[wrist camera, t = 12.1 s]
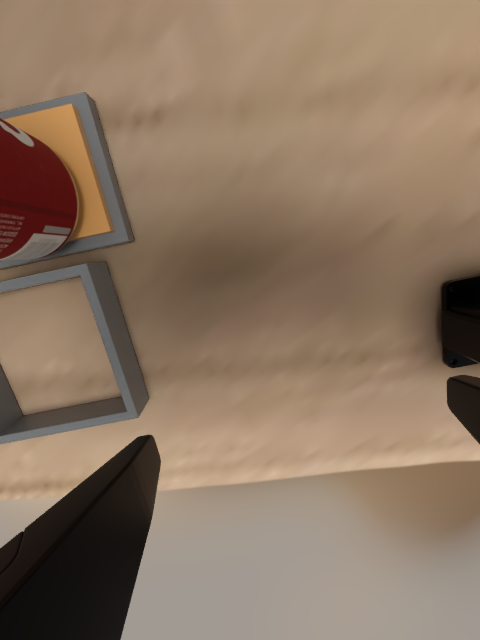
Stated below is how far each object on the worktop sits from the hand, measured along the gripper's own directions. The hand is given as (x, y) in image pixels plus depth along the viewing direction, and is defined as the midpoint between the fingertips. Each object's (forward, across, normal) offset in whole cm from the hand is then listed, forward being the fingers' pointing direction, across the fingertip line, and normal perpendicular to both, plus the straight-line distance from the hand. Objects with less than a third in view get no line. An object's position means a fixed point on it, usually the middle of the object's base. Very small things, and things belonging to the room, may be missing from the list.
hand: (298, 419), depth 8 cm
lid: (+12, +12, -11) cm, 20 cm away
